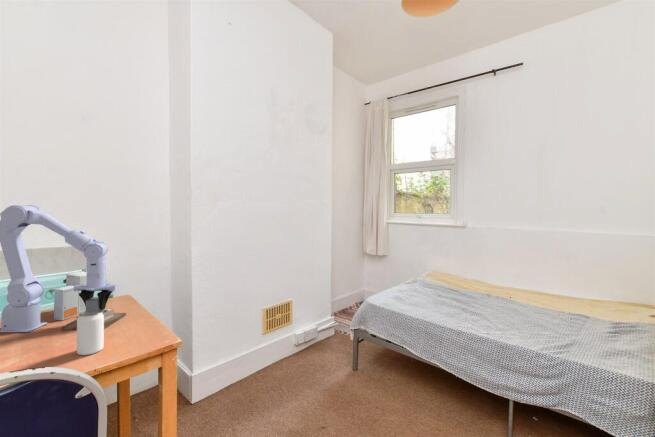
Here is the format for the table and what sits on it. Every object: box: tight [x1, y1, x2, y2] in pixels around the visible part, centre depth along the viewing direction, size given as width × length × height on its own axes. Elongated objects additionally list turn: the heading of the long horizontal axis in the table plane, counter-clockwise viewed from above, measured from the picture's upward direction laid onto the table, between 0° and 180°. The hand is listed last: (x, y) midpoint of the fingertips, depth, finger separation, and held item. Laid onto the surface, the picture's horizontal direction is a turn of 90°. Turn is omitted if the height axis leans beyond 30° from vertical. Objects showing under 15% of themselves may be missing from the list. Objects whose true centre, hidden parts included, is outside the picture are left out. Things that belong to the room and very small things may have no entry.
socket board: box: [61, 308, 127, 331], centre depth 112 cm, size 14×14×4 cm
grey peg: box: [86, 296, 104, 314], centre depth 111 cm, size 4×4×7 cm
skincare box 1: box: [53, 285, 79, 321], centre depth 115 cm, size 6×4×12 cm
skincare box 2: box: [65, 270, 95, 314], centre depth 124 cm, size 8×7×16 cm
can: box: [76, 310, 105, 356], centre depth 90 cm, size 6×6×12 cm
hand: (95, 309), depth 112 cm, fingers closed on grey peg, 4 cm apart
